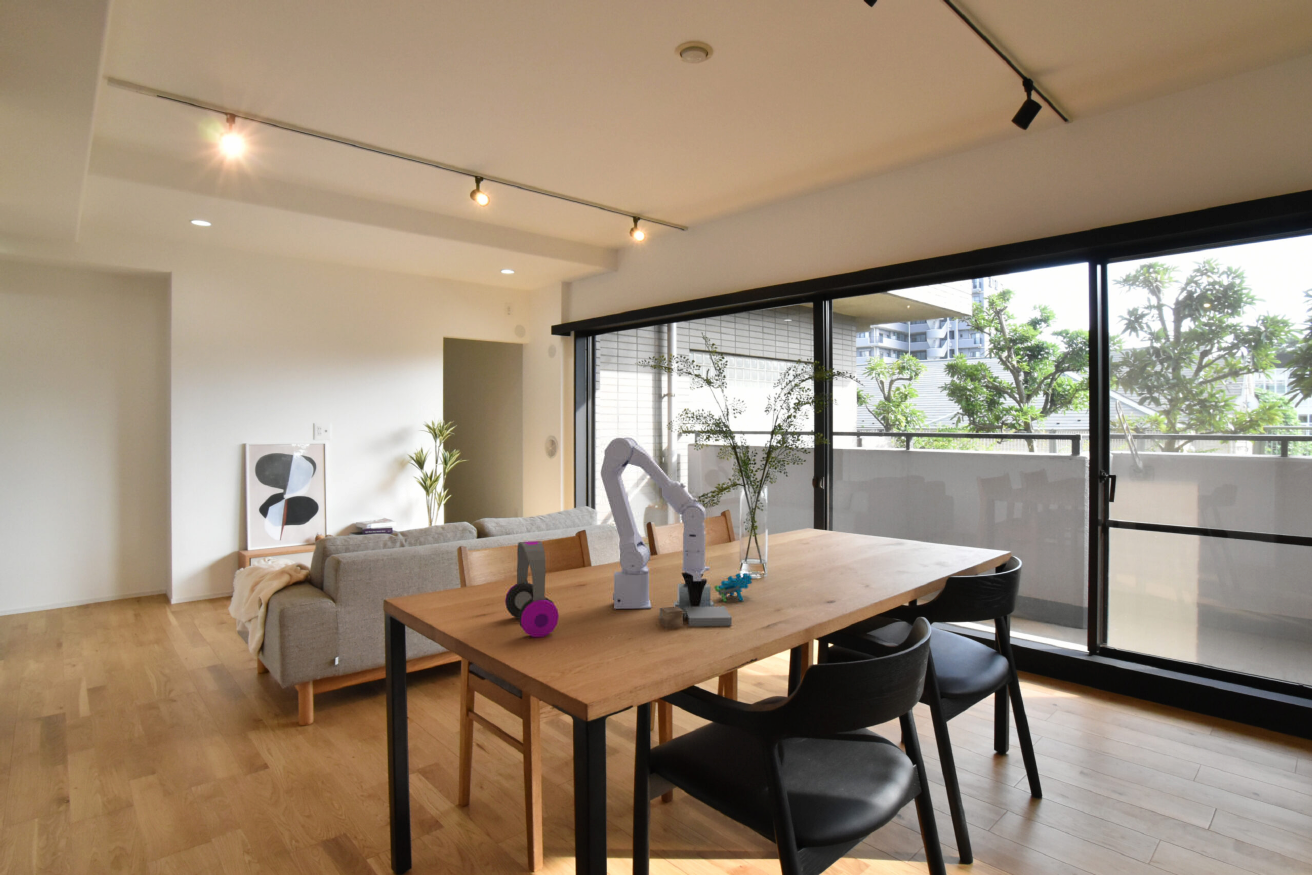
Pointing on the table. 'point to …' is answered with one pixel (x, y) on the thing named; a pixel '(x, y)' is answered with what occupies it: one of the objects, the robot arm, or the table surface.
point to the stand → (708, 616)
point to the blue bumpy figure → (734, 586)
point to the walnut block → (671, 617)
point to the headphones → (531, 592)
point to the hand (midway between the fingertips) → (693, 602)
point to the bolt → (660, 614)
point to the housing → (685, 600)
